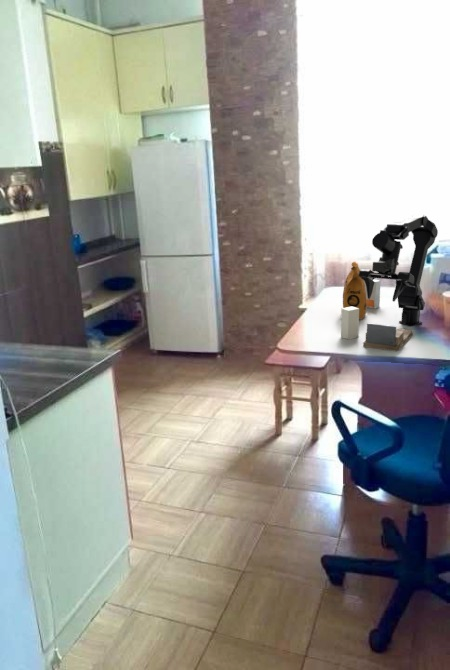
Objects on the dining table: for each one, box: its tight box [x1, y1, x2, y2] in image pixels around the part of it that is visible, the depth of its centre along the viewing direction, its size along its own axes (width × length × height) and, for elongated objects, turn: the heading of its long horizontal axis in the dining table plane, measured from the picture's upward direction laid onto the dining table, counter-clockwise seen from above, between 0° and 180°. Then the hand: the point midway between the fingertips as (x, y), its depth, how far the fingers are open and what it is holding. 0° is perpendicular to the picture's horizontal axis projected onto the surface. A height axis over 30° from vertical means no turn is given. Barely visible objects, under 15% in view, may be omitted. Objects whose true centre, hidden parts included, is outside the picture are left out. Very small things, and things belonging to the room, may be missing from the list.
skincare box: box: [364, 279, 381, 309], centre depth 244 cm, size 6×4×12 cm
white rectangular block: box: [340, 306, 360, 340], centre depth 206 cm, size 5×4×11 cm
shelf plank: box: [362, 328, 413, 352], centre depth 201 cm, size 20×12×4 cm, turn 148°
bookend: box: [366, 322, 397, 346], centre depth 192 cm, size 1×10×7 cm, turn 59°
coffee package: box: [342, 261, 367, 320], centre depth 231 cm, size 10×12×22 cm
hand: (380, 299), depth 196 cm, fingers open, 9 cm apart
